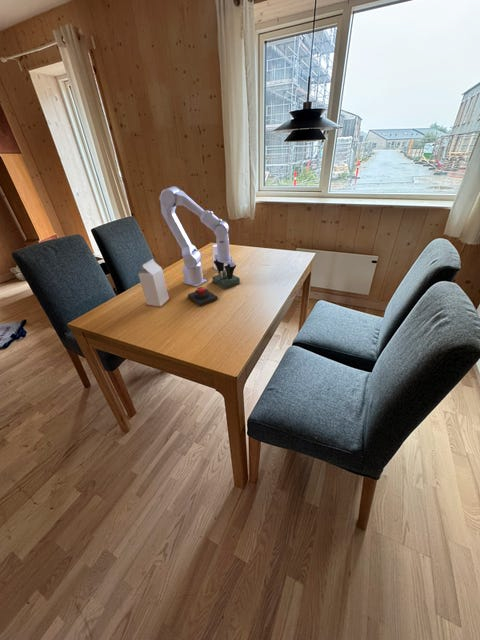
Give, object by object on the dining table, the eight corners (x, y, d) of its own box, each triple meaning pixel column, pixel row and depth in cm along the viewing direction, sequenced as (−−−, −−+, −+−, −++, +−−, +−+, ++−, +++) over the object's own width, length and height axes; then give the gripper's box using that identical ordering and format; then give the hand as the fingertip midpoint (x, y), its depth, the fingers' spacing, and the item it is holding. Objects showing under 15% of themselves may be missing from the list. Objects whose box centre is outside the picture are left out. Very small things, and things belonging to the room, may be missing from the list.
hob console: (212, 281, 134) (212, 276, 132) (227, 276, 138) (226, 271, 136) (225, 289, 126) (224, 283, 124) (239, 283, 131) (239, 277, 129)
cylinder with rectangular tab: (232, 265, 150) (231, 245, 144) (223, 271, 144) (221, 250, 138) (220, 263, 155) (218, 242, 148) (210, 268, 148) (208, 247, 142)
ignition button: (196, 292, 118) (195, 288, 117) (203, 289, 120) (202, 286, 119) (200, 295, 116) (199, 291, 115) (207, 292, 117) (206, 288, 116)
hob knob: (222, 278, 129) (222, 271, 127) (220, 277, 130) (220, 270, 128) (230, 276, 131) (229, 269, 129) (228, 275, 132) (228, 268, 130)
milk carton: (169, 299, 120) (160, 259, 110) (160, 306, 115) (150, 265, 104) (156, 297, 123) (145, 258, 112) (146, 304, 117) (135, 264, 107)
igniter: (188, 297, 121) (186, 290, 119) (204, 291, 125) (204, 284, 123) (200, 306, 113) (199, 299, 112) (217, 299, 118) (216, 292, 116)
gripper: (239, 251, 120) (240, 278, 127) (221, 244, 130) (224, 269, 137) (226, 254, 116) (228, 282, 124) (209, 247, 126) (212, 273, 134)
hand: (225, 276), depth 130 cm, fingers open, 7 cm apart
